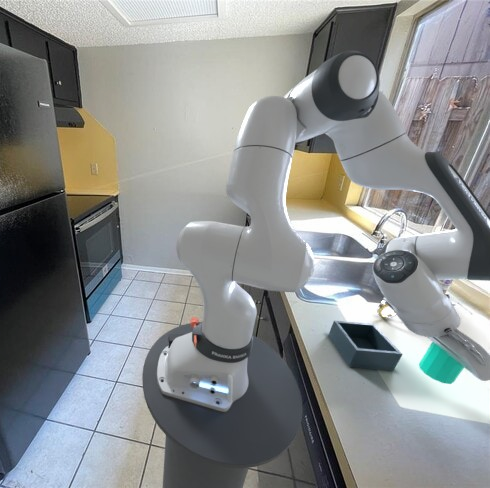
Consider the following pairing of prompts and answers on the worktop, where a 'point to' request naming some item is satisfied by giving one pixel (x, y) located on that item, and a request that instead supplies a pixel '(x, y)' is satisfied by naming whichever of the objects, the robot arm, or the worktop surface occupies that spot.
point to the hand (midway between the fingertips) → (451, 352)
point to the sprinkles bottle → (445, 284)
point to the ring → (382, 309)
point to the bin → (364, 346)
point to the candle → (440, 365)
